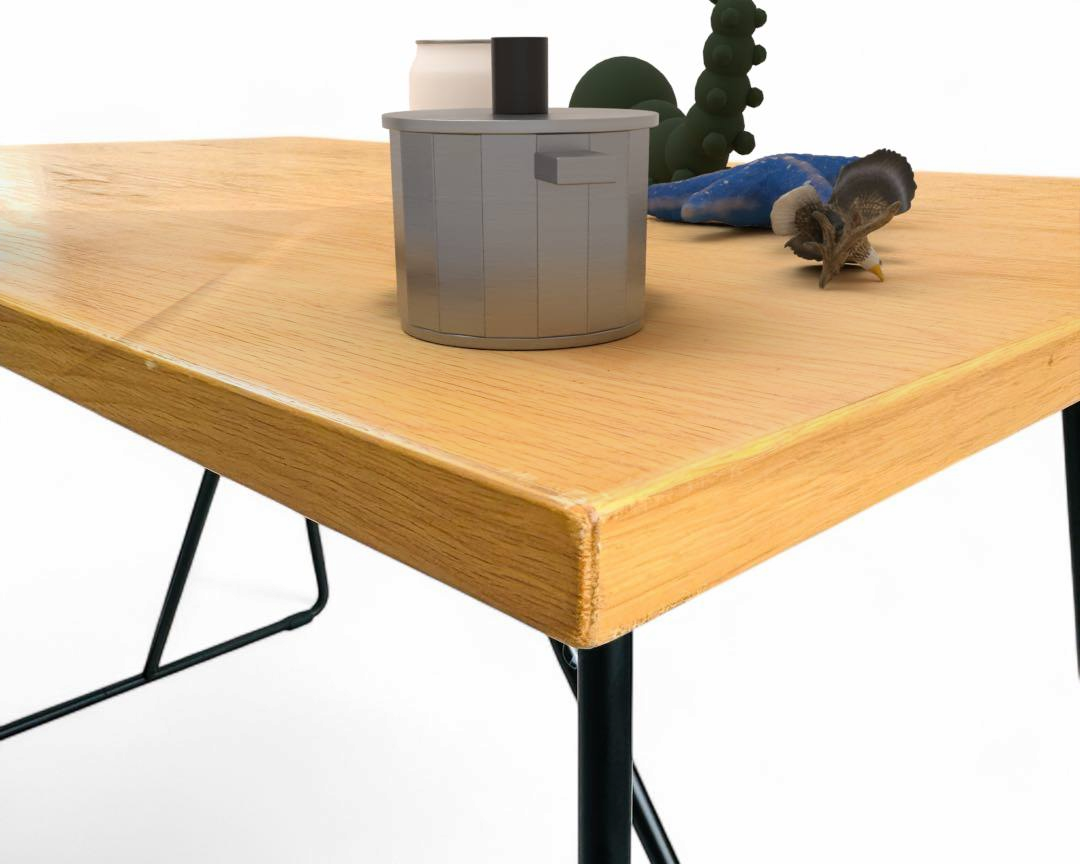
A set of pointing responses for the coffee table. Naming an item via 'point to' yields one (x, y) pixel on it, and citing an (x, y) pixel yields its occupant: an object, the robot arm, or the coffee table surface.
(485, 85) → the can
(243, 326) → the coffee table surface
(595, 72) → the toy figurine
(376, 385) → the coffee table surface
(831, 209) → the eagle figurine
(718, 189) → the starfish
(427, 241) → the pot
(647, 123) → the pot lid
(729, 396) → the coffee table surface
